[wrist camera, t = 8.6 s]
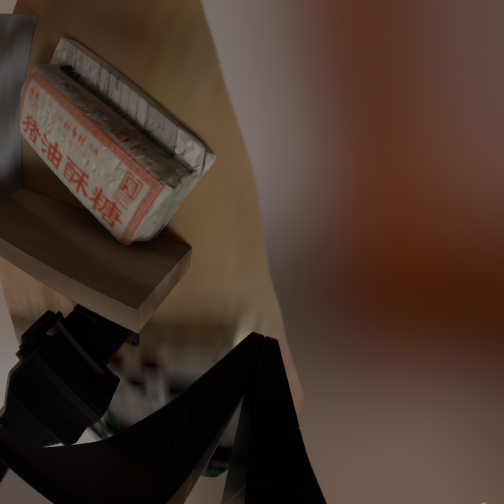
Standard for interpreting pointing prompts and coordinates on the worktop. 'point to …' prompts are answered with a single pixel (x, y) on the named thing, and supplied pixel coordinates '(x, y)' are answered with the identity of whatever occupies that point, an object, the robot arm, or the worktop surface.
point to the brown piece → (71, 221)
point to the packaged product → (109, 142)
